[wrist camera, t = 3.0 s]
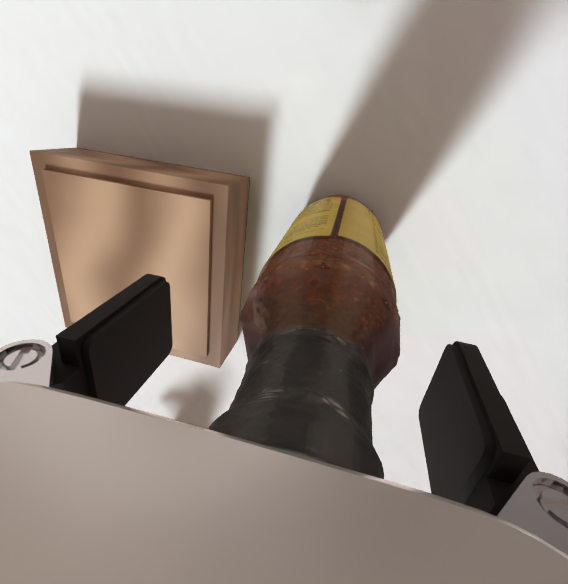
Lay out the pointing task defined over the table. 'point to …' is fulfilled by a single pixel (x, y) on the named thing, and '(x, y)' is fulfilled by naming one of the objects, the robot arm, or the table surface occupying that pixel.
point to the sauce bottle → (319, 339)
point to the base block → (147, 239)
